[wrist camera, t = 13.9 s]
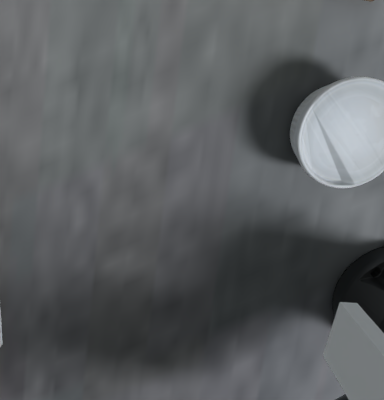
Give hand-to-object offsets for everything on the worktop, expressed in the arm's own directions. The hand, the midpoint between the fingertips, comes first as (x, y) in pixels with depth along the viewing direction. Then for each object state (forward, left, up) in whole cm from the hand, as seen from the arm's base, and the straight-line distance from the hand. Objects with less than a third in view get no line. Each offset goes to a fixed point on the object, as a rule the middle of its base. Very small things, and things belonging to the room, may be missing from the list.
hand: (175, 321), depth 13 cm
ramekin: (-18, -6, -27) cm, 33 cm away
